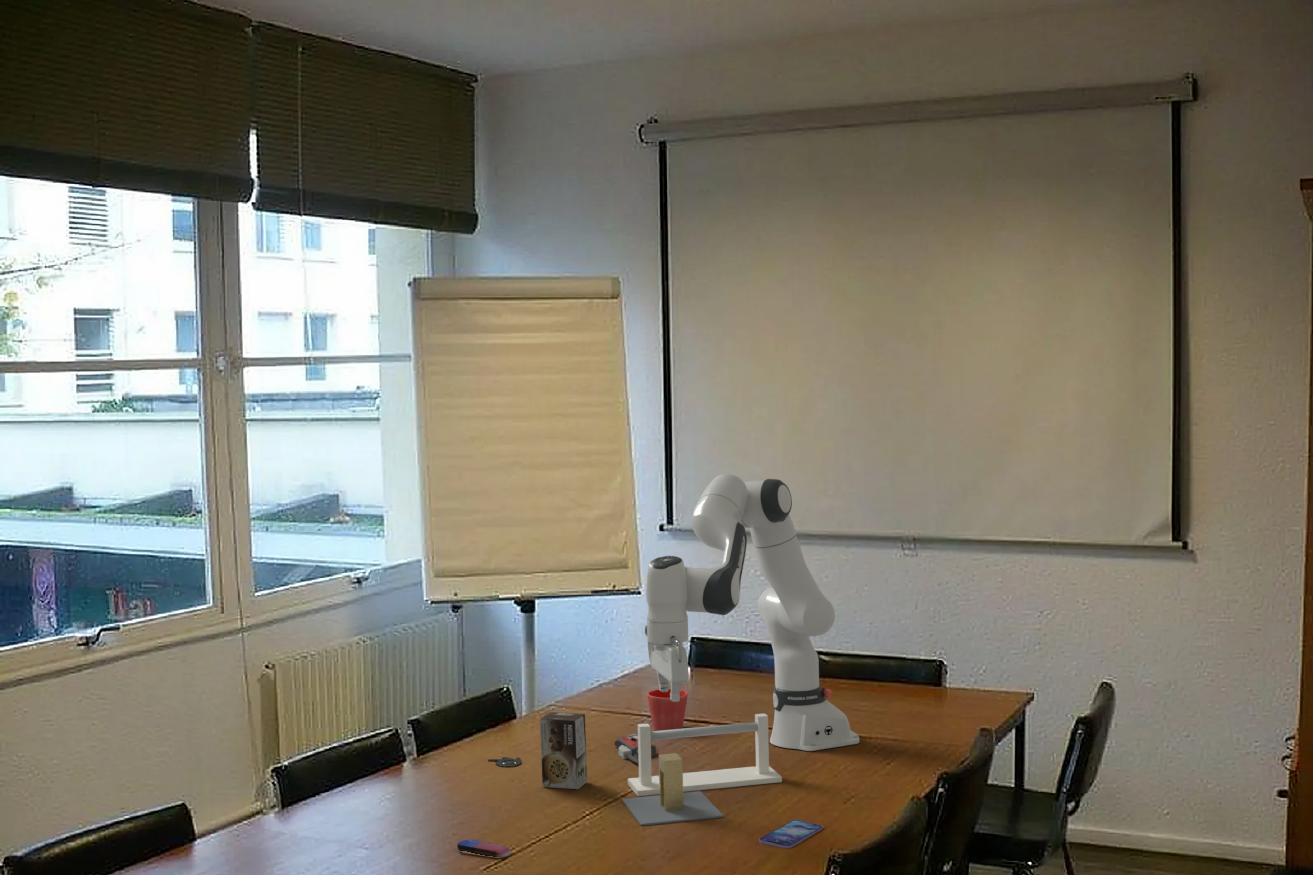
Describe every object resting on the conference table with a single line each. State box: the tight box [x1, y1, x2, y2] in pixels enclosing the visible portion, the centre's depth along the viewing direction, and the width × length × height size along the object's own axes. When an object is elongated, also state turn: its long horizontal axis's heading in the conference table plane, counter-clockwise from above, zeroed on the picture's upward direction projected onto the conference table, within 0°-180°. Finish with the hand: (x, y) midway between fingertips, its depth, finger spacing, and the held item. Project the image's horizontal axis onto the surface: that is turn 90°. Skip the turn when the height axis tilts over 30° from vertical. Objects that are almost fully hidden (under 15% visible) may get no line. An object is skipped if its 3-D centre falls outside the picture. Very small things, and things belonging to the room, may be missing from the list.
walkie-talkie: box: [614, 733, 657, 765], centre depth 352 cm, size 9×4×20 cm
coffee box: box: [539, 711, 588, 790], centre depth 328 cm, size 9×6×16 cm
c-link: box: [658, 752, 684, 811], centre depth 309 cm, size 4×5×11 cm
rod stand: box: [627, 713, 783, 797], centre depth 327 cm, size 34×10×15 cm, turn 104°
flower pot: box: [647, 688, 689, 731], centre depth 376 cm, size 11×11×10 cm
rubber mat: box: [621, 790, 724, 827], centre depth 309 cm, size 18×18×1 cm
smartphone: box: [758, 819, 824, 849], centre depth 291 cm, size 7×1×15 cm
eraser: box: [456, 839, 512, 858], centre depth 284 cm, size 11×4×2 cm, turn 65°
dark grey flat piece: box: [487, 756, 522, 768], centre depth 349 cm, size 9×8×1 cm
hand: (669, 696), depth 308 cm, fingers open, 8 cm apart
